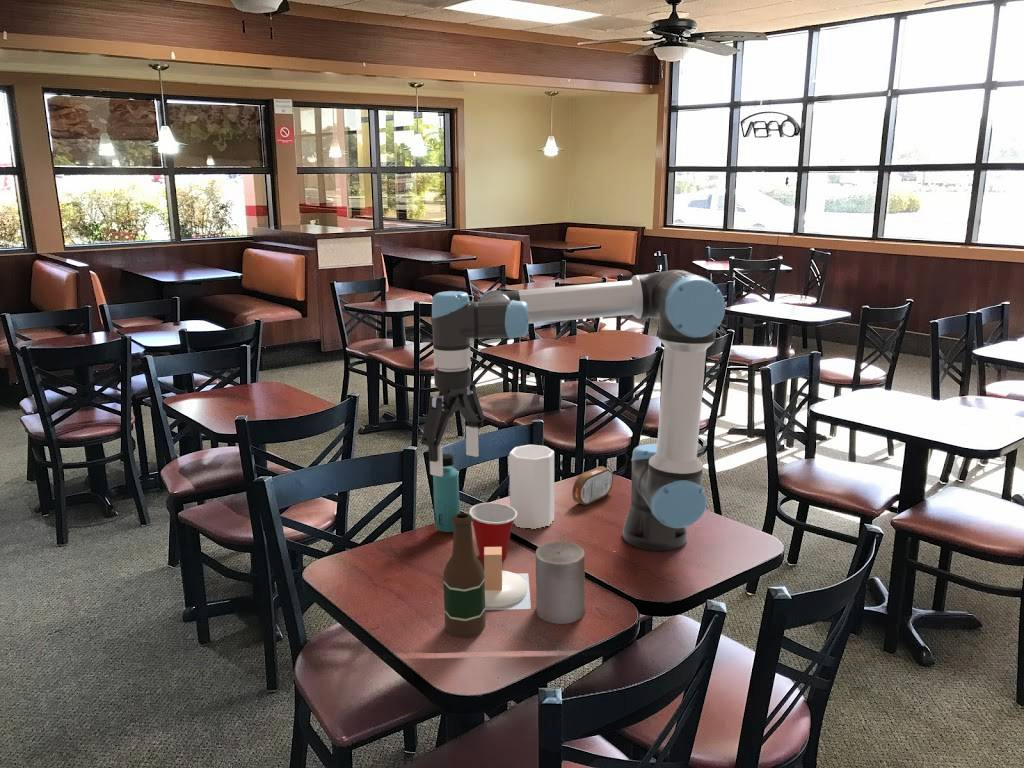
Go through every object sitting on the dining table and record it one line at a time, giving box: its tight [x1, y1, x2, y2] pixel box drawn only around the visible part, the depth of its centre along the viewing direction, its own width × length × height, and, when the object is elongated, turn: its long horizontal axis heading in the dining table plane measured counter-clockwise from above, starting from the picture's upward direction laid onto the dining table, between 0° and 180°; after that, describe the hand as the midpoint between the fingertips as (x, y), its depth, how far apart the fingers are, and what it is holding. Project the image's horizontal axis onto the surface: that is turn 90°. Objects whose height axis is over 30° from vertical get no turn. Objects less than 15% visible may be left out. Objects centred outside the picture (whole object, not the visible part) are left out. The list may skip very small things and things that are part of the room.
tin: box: [571, 465, 614, 506], centre depth 219 cm, size 15×3×8 cm, turn 136°
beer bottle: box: [442, 512, 486, 640], centre depth 154 cm, size 8×8×24 cm
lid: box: [483, 547, 527, 608], centre depth 170 cm, size 14×14×9 cm
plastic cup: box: [468, 502, 517, 562], centre depth 185 cm, size 11×11×12 cm
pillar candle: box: [535, 541, 586, 625], centre depth 161 cm, size 10×10×15 cm
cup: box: [508, 444, 555, 530], centre depth 205 cm, size 11×11×18 cm
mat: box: [485, 572, 532, 611], centre depth 171 cm, size 15×15×1 cm
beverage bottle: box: [432, 453, 461, 533], centre depth 198 cm, size 6×7×20 cm
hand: (455, 465), depth 173 cm, fingers open, 13 cm apart
